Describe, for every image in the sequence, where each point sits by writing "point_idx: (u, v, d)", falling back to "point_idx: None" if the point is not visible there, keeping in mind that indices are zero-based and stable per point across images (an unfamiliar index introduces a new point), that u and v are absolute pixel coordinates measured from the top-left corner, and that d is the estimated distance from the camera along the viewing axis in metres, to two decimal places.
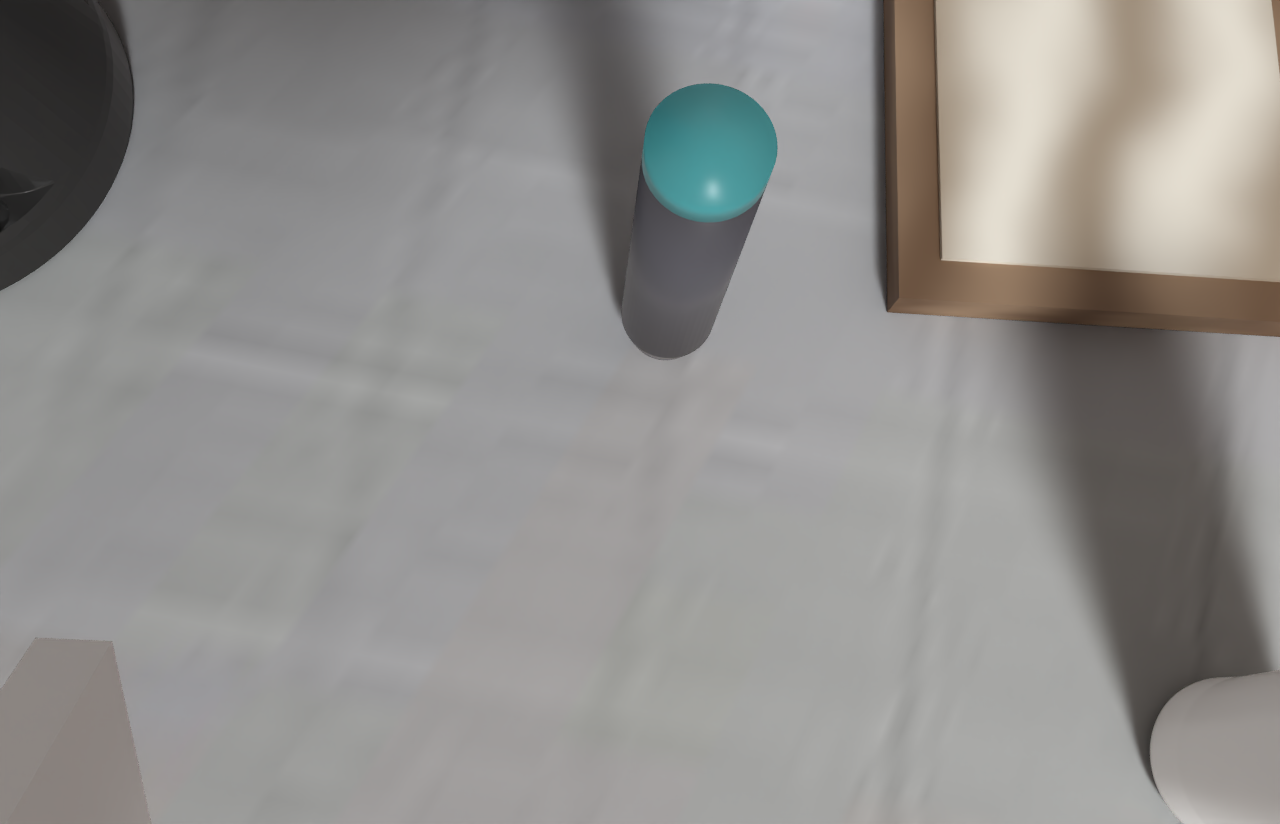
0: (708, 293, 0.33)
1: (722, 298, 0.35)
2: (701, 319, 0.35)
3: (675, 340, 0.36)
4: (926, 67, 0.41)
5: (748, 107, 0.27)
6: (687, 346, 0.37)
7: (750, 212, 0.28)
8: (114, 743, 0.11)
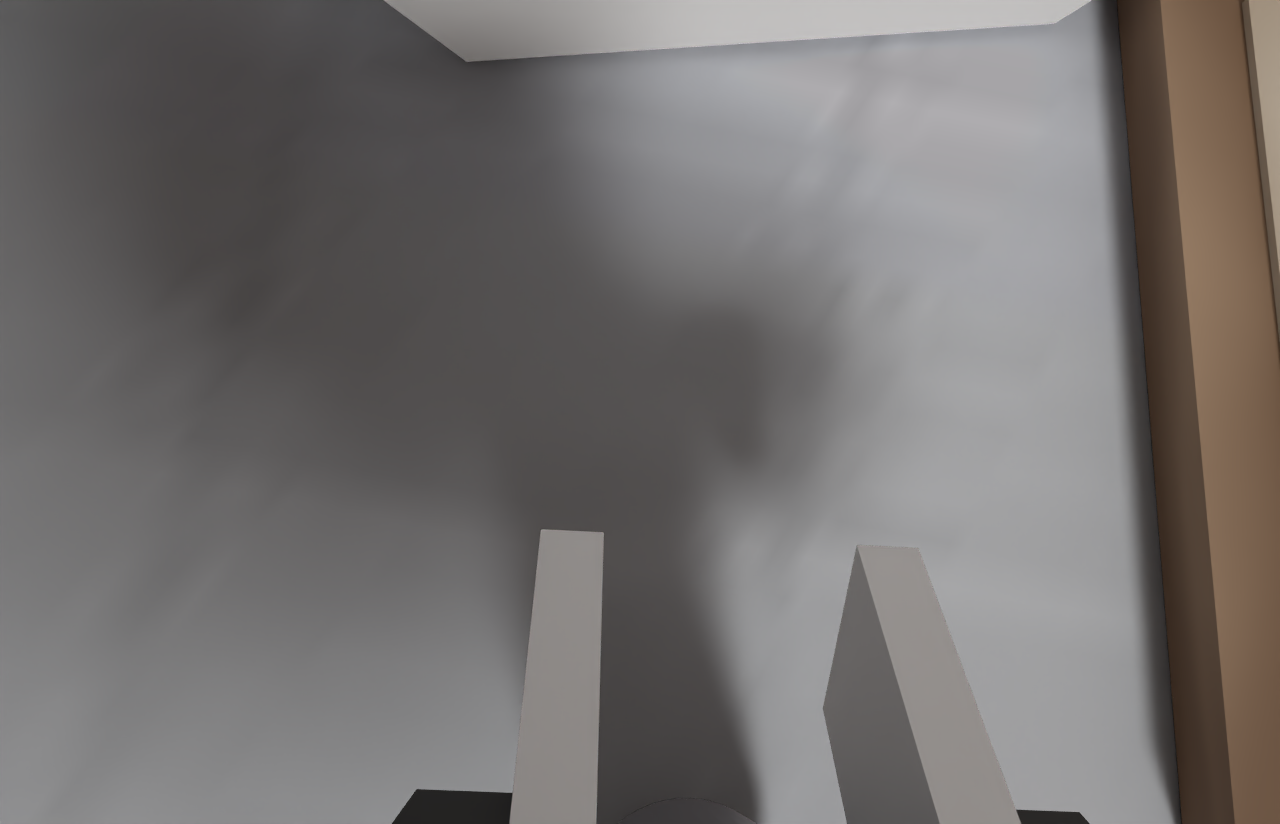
0: None
1: None
2: None
3: None
4: (1253, 285, 0.19)
5: None
6: None
7: None
8: None
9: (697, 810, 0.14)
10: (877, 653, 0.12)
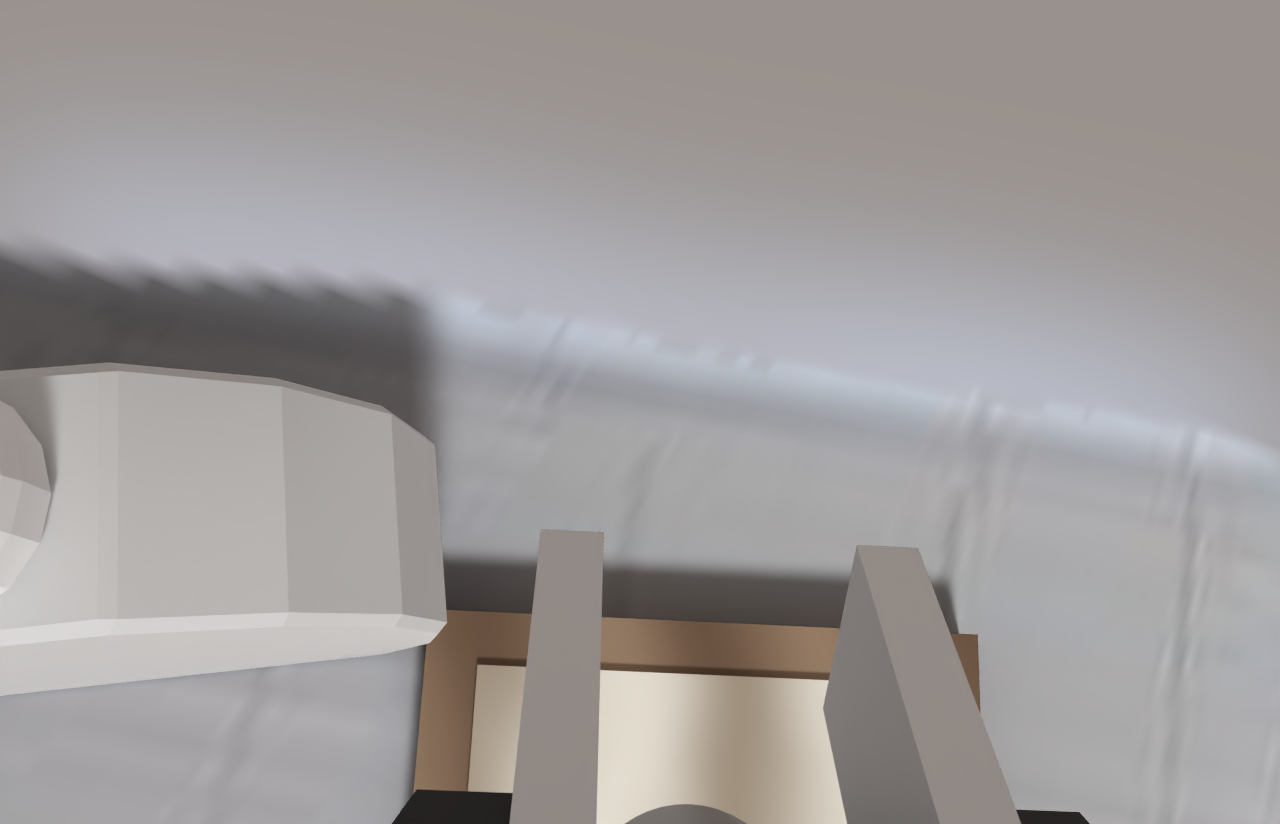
0: None
1: None
2: None
3: None
4: None
5: None
6: None
7: None
8: None
9: (696, 817, 0.14)
10: (877, 653, 0.12)
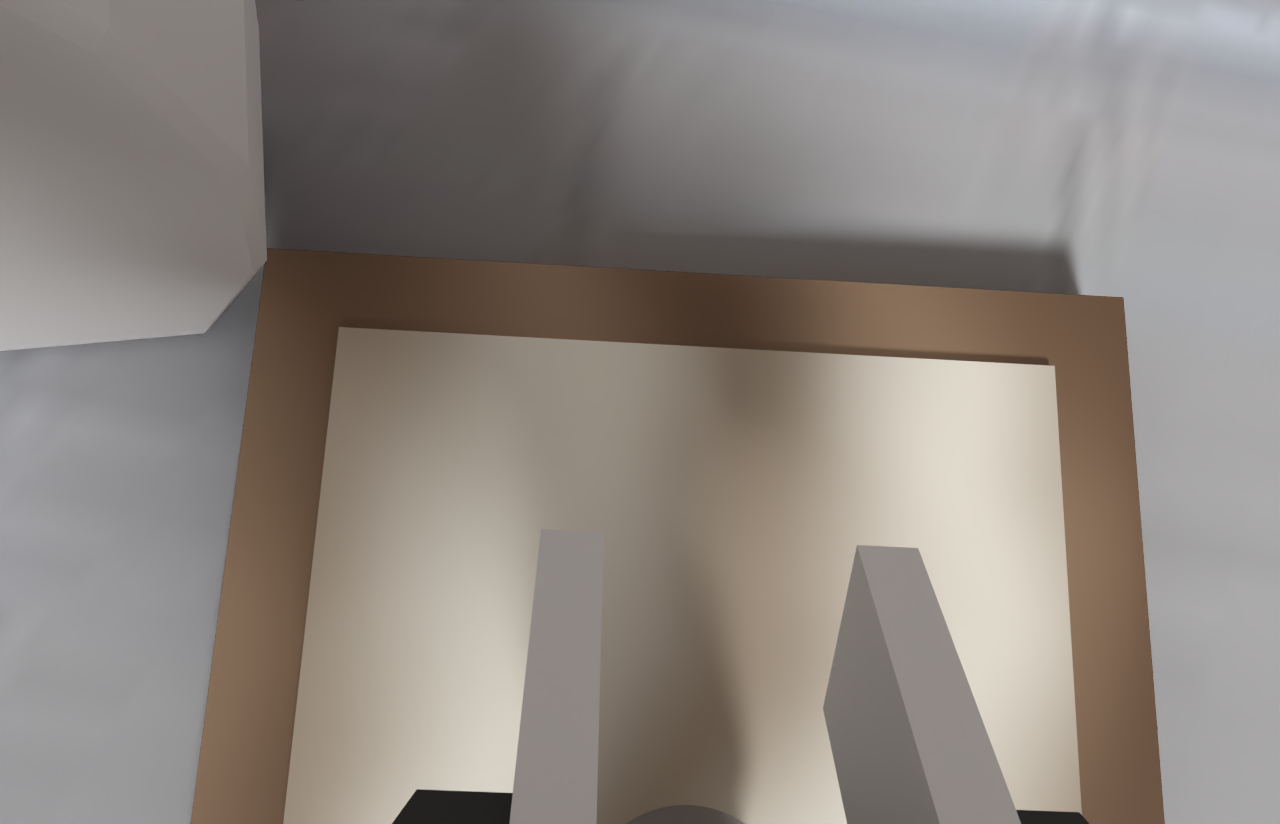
0: None
1: None
2: None
3: None
4: (285, 636, 0.19)
5: None
6: None
7: None
8: None
9: (696, 818, 0.14)
10: (877, 653, 0.12)
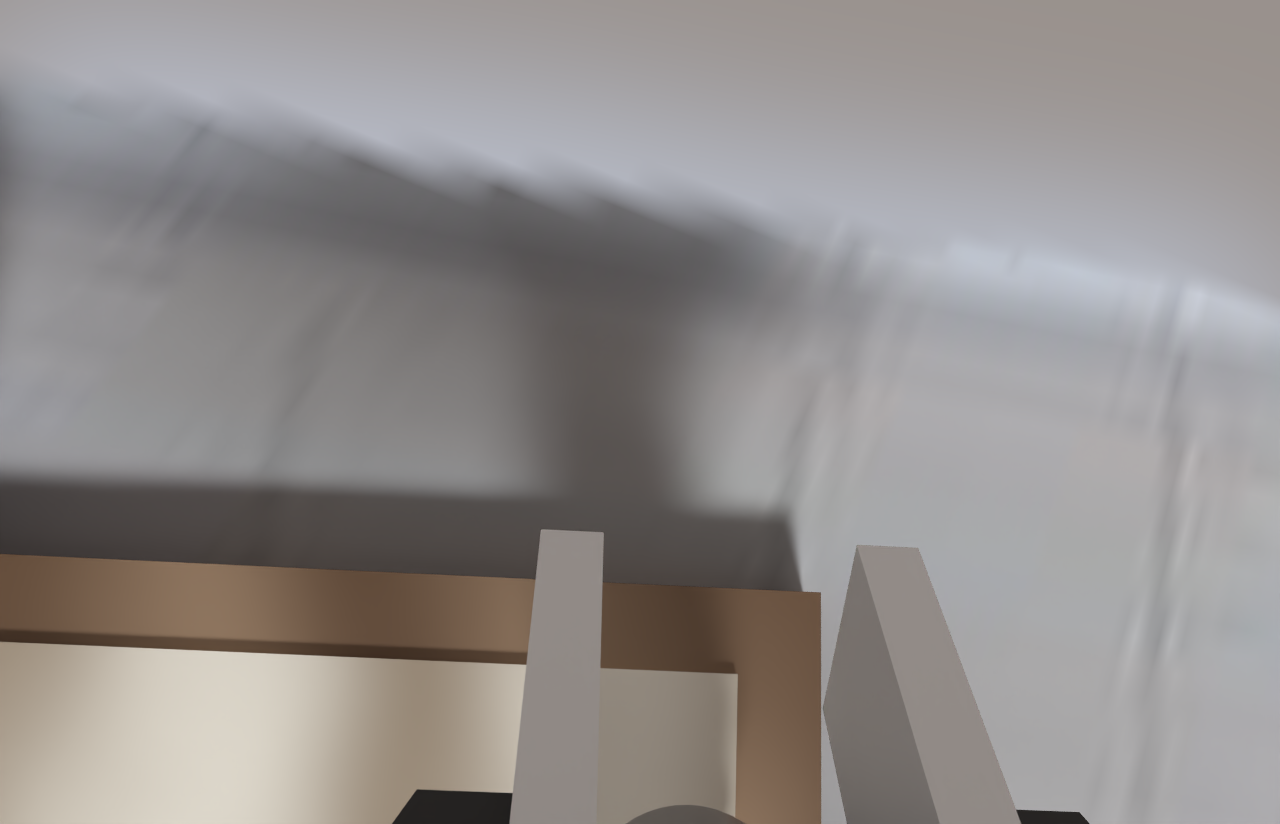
0: None
1: None
2: None
3: None
4: None
5: None
6: None
7: None
8: None
9: (696, 817, 0.14)
10: (877, 653, 0.12)
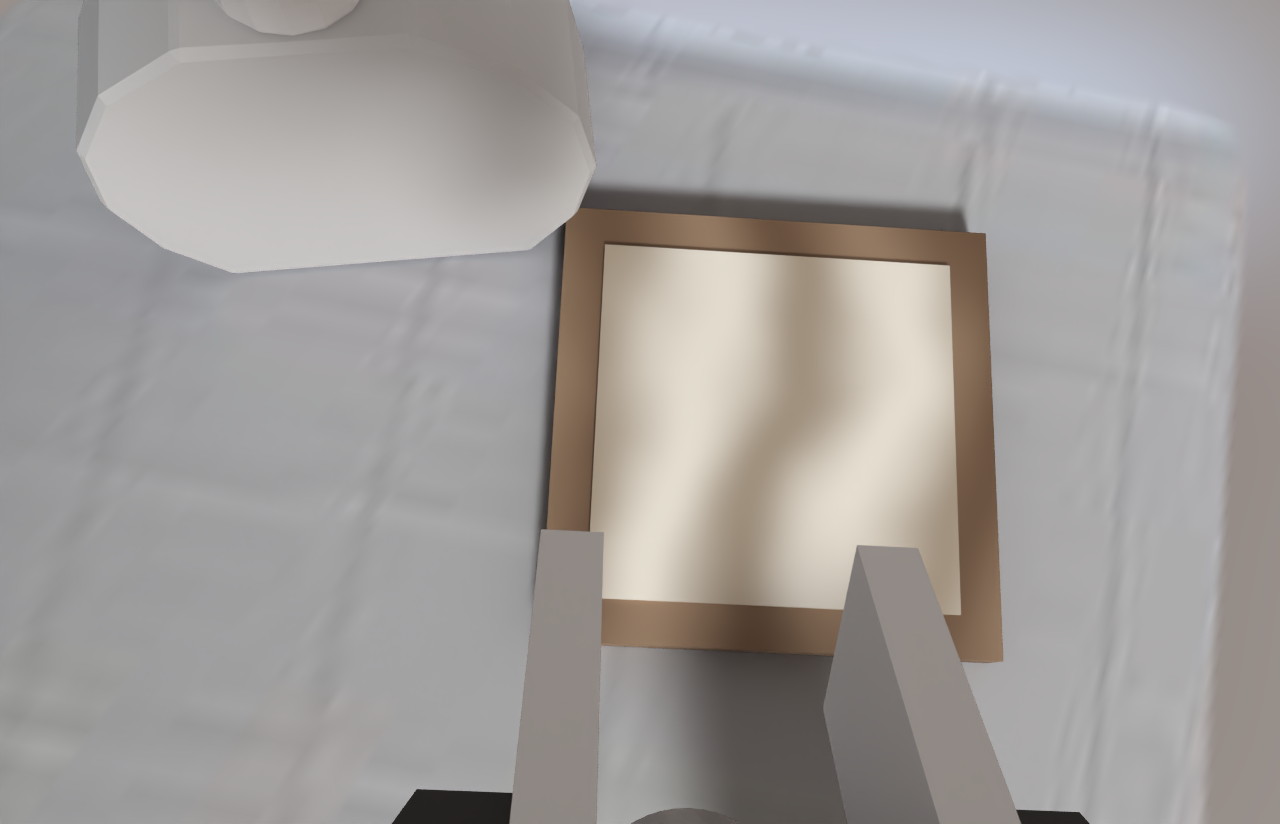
0: None
1: None
2: None
3: None
4: (587, 385, 0.40)
5: None
6: None
7: None
8: None
9: (696, 821, 0.14)
10: (877, 653, 0.12)
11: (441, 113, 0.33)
